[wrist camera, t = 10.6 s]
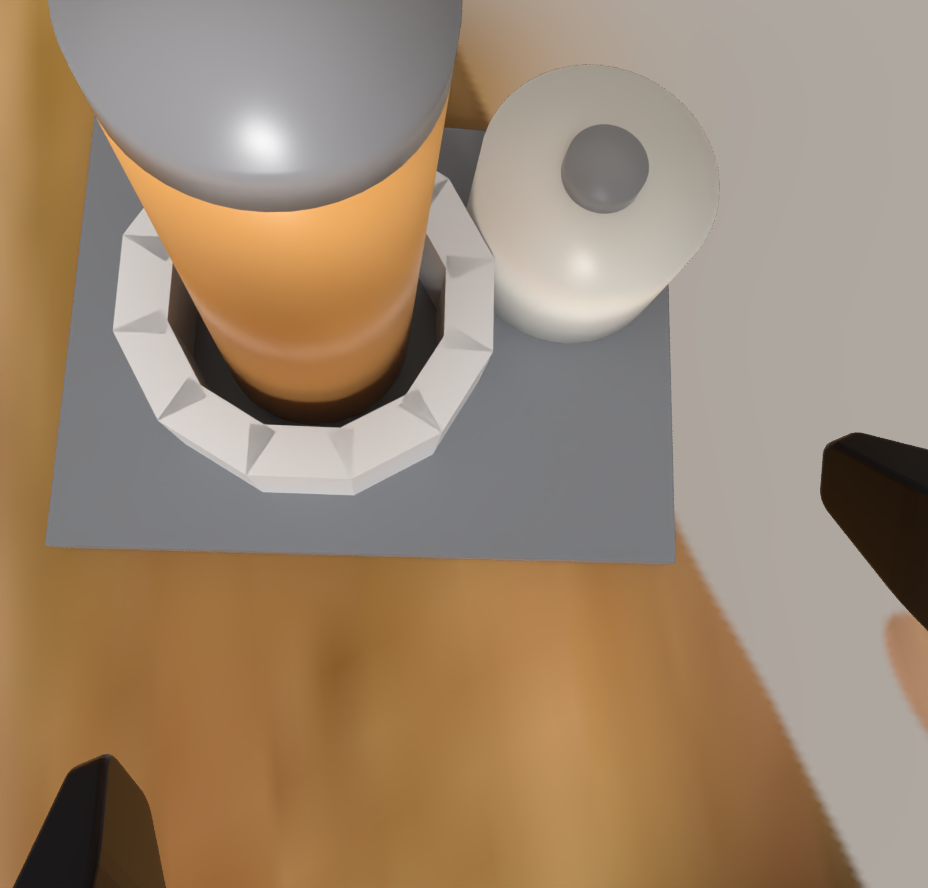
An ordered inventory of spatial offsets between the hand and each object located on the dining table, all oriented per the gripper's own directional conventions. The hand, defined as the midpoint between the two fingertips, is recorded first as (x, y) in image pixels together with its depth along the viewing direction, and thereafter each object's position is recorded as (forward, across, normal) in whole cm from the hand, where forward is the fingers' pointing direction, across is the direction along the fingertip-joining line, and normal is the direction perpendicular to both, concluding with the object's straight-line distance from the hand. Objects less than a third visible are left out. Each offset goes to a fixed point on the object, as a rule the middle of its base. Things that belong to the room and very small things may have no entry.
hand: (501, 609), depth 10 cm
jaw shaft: (+14, 0, +3) cm, 15 cm away
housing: (+15, -2, +4) cm, 16 cm away
